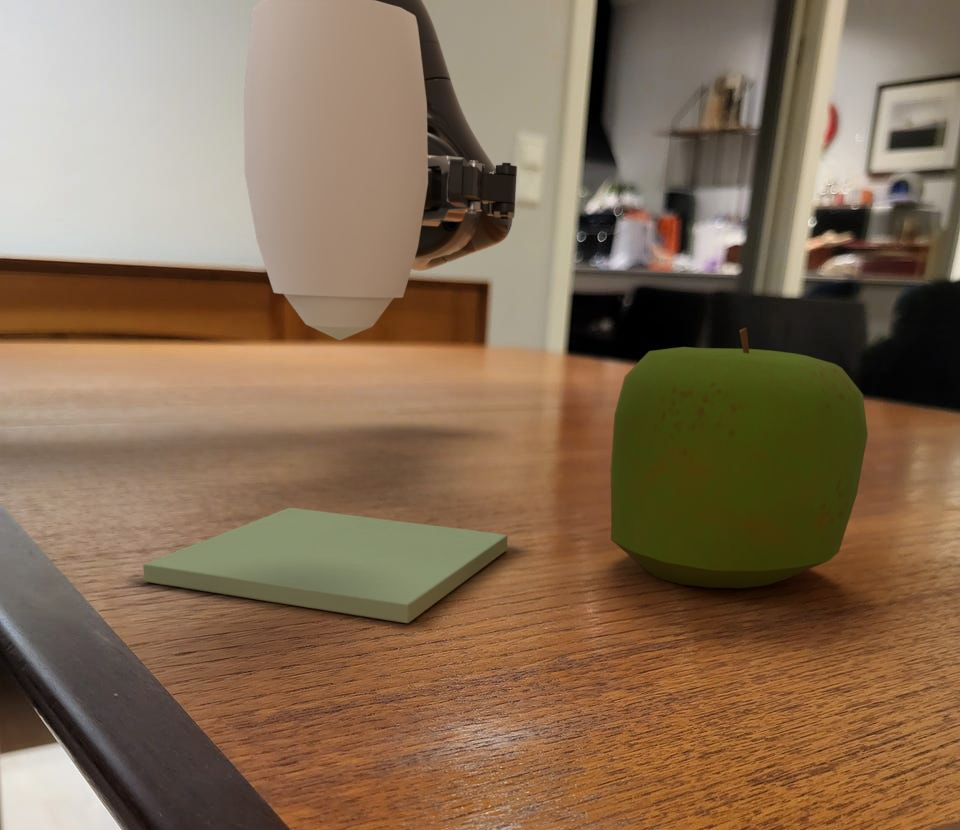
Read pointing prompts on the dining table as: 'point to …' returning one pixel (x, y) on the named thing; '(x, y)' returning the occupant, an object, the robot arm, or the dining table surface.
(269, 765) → the dining table surface
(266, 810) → the dining table surface
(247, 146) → the white rounded shell
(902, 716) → the dining table surface
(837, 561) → the dining table surface
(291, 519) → the drink mat
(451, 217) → the robot arm
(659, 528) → the apple
